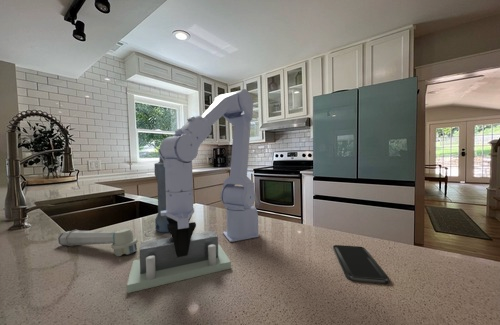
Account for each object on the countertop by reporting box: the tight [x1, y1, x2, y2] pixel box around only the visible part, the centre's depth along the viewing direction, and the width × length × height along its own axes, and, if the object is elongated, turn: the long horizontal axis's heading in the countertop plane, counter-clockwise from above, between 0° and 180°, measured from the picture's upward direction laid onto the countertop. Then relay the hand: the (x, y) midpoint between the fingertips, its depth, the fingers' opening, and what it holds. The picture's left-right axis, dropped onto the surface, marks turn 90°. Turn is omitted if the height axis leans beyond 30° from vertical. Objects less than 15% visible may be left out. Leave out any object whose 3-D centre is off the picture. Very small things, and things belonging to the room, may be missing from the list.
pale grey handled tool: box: [57, 228, 139, 257], centre depth 57 cm, size 5×7×25 cm
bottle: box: [153, 144, 170, 233], centre depth 72 cm, size 10×10×30 cm
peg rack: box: [126, 231, 232, 294], centre depth 47 cm, size 20×10×6 cm, turn 113°
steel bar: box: [139, 230, 219, 274], centre depth 47 cm, size 16×4×5 cm, turn 113°
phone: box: [332, 244, 390, 285], centre depth 48 cm, size 8×1×15 cm
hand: (181, 250), depth 47 cm, fingers open, 5 cm apart
